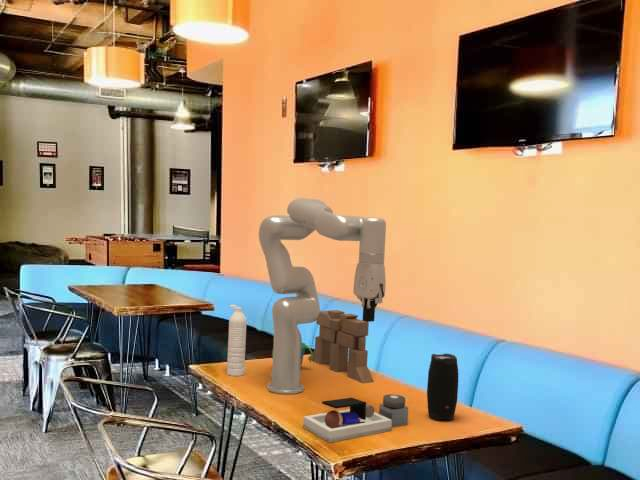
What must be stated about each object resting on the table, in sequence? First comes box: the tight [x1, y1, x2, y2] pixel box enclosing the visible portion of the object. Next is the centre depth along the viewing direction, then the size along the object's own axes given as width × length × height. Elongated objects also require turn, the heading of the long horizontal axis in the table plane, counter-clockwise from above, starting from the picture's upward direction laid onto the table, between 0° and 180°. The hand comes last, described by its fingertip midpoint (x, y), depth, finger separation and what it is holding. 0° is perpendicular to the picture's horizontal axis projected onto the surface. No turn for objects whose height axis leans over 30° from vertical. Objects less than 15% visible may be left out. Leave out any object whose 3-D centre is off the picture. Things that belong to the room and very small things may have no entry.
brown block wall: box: [307, 309, 375, 384], centre depth 236 cm, size 40×9×23 cm, turn 33°
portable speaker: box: [426, 353, 459, 422], centre depth 182 cm, size 8×9×19 cm
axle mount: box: [378, 403, 409, 428], centre depth 176 cm, size 6×6×5 cm
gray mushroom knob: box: [382, 394, 406, 408], centre depth 176 cm, size 6×6×7 cm
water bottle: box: [226, 304, 247, 377], centre depth 223 cm, size 9×6×25 cm
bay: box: [302, 408, 393, 444], centre depth 168 cm, size 13×21×3 cm, turn 123°
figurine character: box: [321, 397, 375, 429], centre depth 169 cm, size 7×8×15 cm
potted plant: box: [271, 342, 313, 370], centre depth 233 cm, size 16×10×10 cm
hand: (368, 321), depth 178 cm, fingers closed
